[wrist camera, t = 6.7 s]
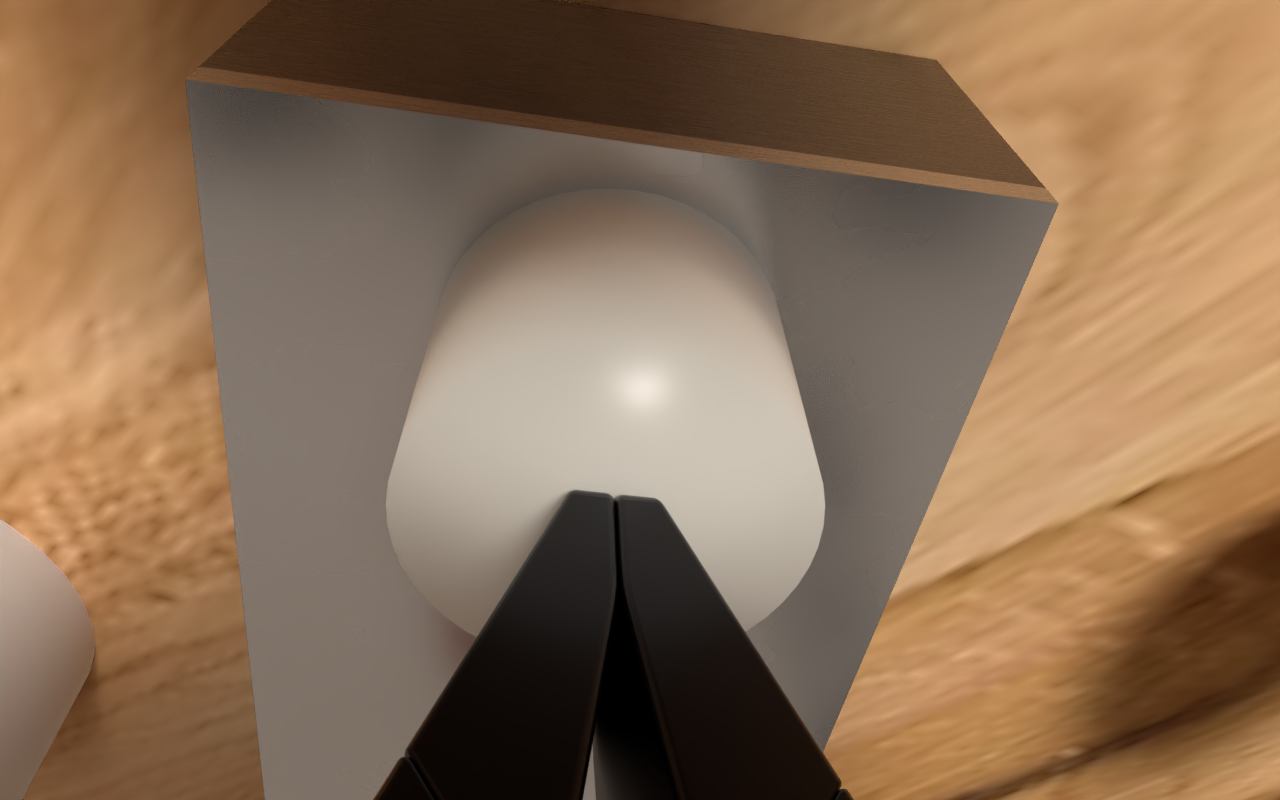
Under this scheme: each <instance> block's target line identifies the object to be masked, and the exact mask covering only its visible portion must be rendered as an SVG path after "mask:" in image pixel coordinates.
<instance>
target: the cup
mask: <svg viewBox="0 0 1280 800" xmlns="http://www.w3.org/2000/svg"><path fill="white" fill-rule="evenodd" d="M94 654H95V641H94V632H93V625H92V622H91V620H90V617H89V615H88V612H87V610H86V607H85V605H84V602H83V600H82V598H81V597H80V595H79V594H78V593H77V591H76V590H75V588H74V587H73V585H72V584H71V583H70V581H69V580H68V578H67V577H66V575H65V574H64V573H63V572H62V571H61V570H60V569H59V568H58V567H57V566H56V565H55V564H54V563H53V562H52V561H51V560H50V558H49V557H48V556H47V555H46V554H45V553H44V552H43V551H42V550H41V549H40V548H39V547H38V546H36V545H35V544H34V543H32V542H31V541H30V540H28V539H27V538H25V537H24V536H23V535H21V534H20V533H19V532H17V531H16V530H15V529H13V528H12V527H11V526H9V525H8V524H7V523H5V522H4V521H2V520H1V519H0V800H22V799H23V797H24V796H25V794H26V792H27V790H28V788H29V786H30V784H31V782H32V781H33V779H34V777H35V775H36V773H37V771H38V769H39V767H40V765H41V764H42V762H43V760H44V758H45V756H46V754H47V752H48V750H49V749H50V747H51V745H52V743H53V741H54V739H55V737H56V735H57V733H58V732H59V730H60V728H61V726H62V724H63V722H64V720H65V718H66V717H67V715H68V713H69V711H70V709H71V707H72V705H73V703H74V701H75V700H76V698H77V696H78V694H79V692H80V690H81V688H82V686H83V685H84V683H85V681H86V679H87V677H88V675H89V673H90V671H91V667H92V662H93V658H94Z"/></svg>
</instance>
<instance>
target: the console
mask: <svg viewBox="0 0 1280 800" xmlns="http://www.w3.org/2000/svg"><path fill="white" fill-rule="evenodd" d="M185 82H186V91H187V100H188V109H189V118H190V127H191V137H192V146H193V155H194V164H195V173H196V182H197V191H198V200H199V209H200V218H201V227H202V236H203V245H204V254H205V263H206V272H207V281H208V290H209V299H210V308H211V317H212V326H213V336H214V345H215V354H216V363H217V372H218V381H219V390H220V399H221V408H222V417H223V426H224V435H225V444H226V453H227V462H228V471H229V480H230V489H231V498H232V507H233V516H234V525H235V535H236V544H237V553H238V562H239V571H240V580H241V589H242V598H243V607H244V616H245V625H246V634H247V643H248V652H249V661H250V670H251V679H252V688H253V697H254V706H255V715H256V724H257V734H258V743H259V752H260V761H261V770H262V779H263V788H264V797H265V800H373V799H374V797H375V796H376V794H377V793H378V791H379V790H380V788H381V786H382V785H383V783H384V782H385V780H386V779H387V777H388V775H389V774H390V772H391V771H392V769H393V767H394V766H395V764H396V763H397V761H398V760H399V759H400V758H401V757H404V755H405V750H406V748H407V746H408V745H409V743H410V742H411V740H412V738H413V737H414V735H415V734H416V732H417V730H418V729H419V727H420V726H421V724H422V723H423V721H424V719H425V718H426V716H427V715H428V713H429V711H430V710H431V708H432V707H433V705H434V704H435V702H436V700H437V699H438V697H439V696H440V694H441V693H442V691H443V689H444V688H445V686H446V685H447V683H448V681H449V680H450V678H451V677H452V675H453V674H454V672H455V670H456V669H457V667H458V666H459V664H460V662H461V661H462V659H463V658H464V656H465V655H466V653H467V651H468V650H469V648H470V647H471V645H472V643H473V642H474V640H475V639H476V637H475V636H473V635H472V634H470V633H468V632H466V631H464V630H463V629H462V628H460V627H459V626H457V625H456V624H455V623H453V622H452V621H450V620H449V619H447V618H446V617H445V616H444V615H443V614H441V613H440V612H439V611H438V610H437V609H436V608H435V607H434V606H433V605H431V604H430V603H429V602H428V601H427V600H426V598H425V597H424V596H423V595H422V594H421V593H420V592H419V590H418V589H417V588H416V587H415V586H414V585H413V583H412V581H411V580H410V578H409V577H408V575H407V574H406V572H405V570H404V569H403V567H402V566H401V563H400V561H399V559H398V557H397V554H396V552H395V550H394V548H393V545H392V541H391V537H390V533H389V529H388V525H387V513H386V497H387V487H388V480H389V477H390V473H391V470H392V466H393V463H394V459H395V456H396V452H397V449H398V445H399V442H400V438H401V435H402V431H403V428H404V424H405V421H406V418H407V414H408V411H409V407H410V404H411V400H412V397H413V393H414V390H415V386H416V383H417V379H418V376H419V372H420V369H421V365H422V362H423V358H424V355H425V351H426V348H427V345H428V341H429V338H430V334H431V331H432V327H433V324H434V320H435V317H436V313H437V310H438V306H439V303H440V299H441V296H442V292H443V289H444V287H445V285H446V283H447V281H448V278H449V276H450V274H451V272H452V270H453V269H454V267H455V266H456V264H457V263H458V261H459V260H460V258H461V257H462V255H463V254H464V253H465V251H466V250H467V249H468V248H469V247H470V246H471V245H472V244H473V243H474V241H475V240H476V239H477V238H478V237H479V236H480V235H482V234H483V233H484V232H485V231H487V230H488V229H489V228H490V227H491V226H493V225H494V224H495V223H496V222H498V221H500V220H501V219H503V218H504V217H506V216H508V215H509V214H511V213H512V212H514V211H516V210H518V209H520V208H522V207H525V206H527V205H529V204H531V203H533V202H536V201H538V200H541V199H545V198H548V197H551V196H555V195H558V194H562V193H567V192H573V191H579V190H585V189H606V188H613V189H626V190H636V191H641V192H646V193H651V194H656V195H661V196H663V197H666V198H669V199H672V200H675V201H678V202H681V203H684V204H686V205H688V206H690V207H692V208H694V209H696V210H698V211H700V212H702V213H704V214H706V215H707V216H709V217H710V218H712V219H713V220H715V221H716V222H718V223H720V224H721V225H723V226H724V227H725V228H726V229H727V230H728V231H730V232H731V233H732V234H733V235H734V236H735V237H736V238H738V239H739V240H740V241H741V242H742V243H743V245H744V246H745V247H746V248H747V249H748V250H749V252H750V253H751V254H752V255H753V256H754V257H755V259H756V261H757V262H758V264H759V265H760V267H761V268H762V270H763V271H764V273H765V275H766V277H767V279H768V281H769V284H770V286H771V288H772V290H773V293H774V296H775V299H776V303H777V307H778V311H779V314H780V318H781V322H782V326H783V330H784V334H785V338H786V342H787V345H788V349H789V353H790V357H791V361H792V365H793V369H794V373H795V376H796V380H797V384H798V388H799V392H800V396H801V400H802V404H803V407H804V411H805V415H806V419H807V423H808V427H809V431H810V435H811V438H812V442H813V446H814V450H815V454H816V458H817V462H818V466H819V469H820V473H821V477H822V481H823V486H824V497H825V515H824V526H823V531H822V534H821V538H820V542H819V546H818V549H817V551H816V553H815V556H814V558H813V560H812V562H811V564H810V567H809V568H808V570H807V572H806V573H805V575H804V576H803V578H802V579H801V581H800V582H799V584H798V585H797V587H796V588H795V589H794V590H793V591H792V592H791V594H790V595H789V596H788V597H787V598H786V599H785V601H784V602H783V603H782V604H781V605H779V606H778V607H777V608H776V609H775V610H774V611H773V612H772V613H770V614H769V615H768V616H767V617H766V618H765V619H763V620H762V621H760V622H759V623H757V624H756V625H755V626H753V627H752V628H750V629H749V630H748V631H746V634H747V635H748V637H749V638H750V640H751V641H752V643H753V645H754V646H755V648H756V649H757V651H758V652H759V654H760V655H761V657H762V659H763V660H764V662H765V663H766V665H767V666H768V668H769V669H770V671H771V673H772V674H773V676H774V677H775V679H776V680H777V682H778V683H779V685H780V687H781V688H782V690H783V691H784V693H785V694H786V696H787V697H788V699H789V701H790V702H791V704H792V705H793V707H794V708H795V710H796V711H797V713H798V715H799V716H800V718H801V719H802V721H803V722H804V724H805V726H806V727H807V729H808V730H809V732H810V733H811V735H812V736H813V738H814V740H815V741H816V743H817V744H818V746H819V747H820V749H821V750H822V752H823V750H824V748H825V746H826V743H827V741H828V739H829V736H830V734H831V732H832V729H833V727H834V725H835V722H836V720H837V718H838V715H839V713H840V711H841V708H842V706H843V704H844V701H845V699H846V697H847V694H848V692H849V690H850V688H851V685H852V683H853V681H854V678H855V676H856V674H857V671H858V669H859V667H860V664H861V662H862V660H863V657H864V655H865V653H866V650H867V648H868V646H869V643H870V641H871V639H872V636H873V634H874V632H875V629H876V627H877V625H878V622H879V620H880V618H881V615H882V613H883V611H884V608H885V606H886V604H887V602H888V599H889V597H890V595H891V592H892V590H893V588H894V585H895V583H896V581H897V578H898V576H899V574H900V571H901V569H902V567H903V564H904V562H905V560H906V557H907V555H908V553H909V550H910V548H911V546H912V543H913V541H914V539H915V536H916V534H917V532H918V529H919V527H920V525H921V523H922V520H923V518H924V516H925V513H926V511H927V509H928V506H929V504H930V502H931V499H932V497H933V495H934V492H935V490H936V488H937V485H938V483H939V481H940V478H941V476H942V474H943V471H944V469H945V467H946V464H947V462H948V460H949V457H950V455H951V453H952V450H953V448H954V446H955V443H956V441H957V439H958V437H959V434H960V432H961V430H962V427H963V425H964V423H965V420H966V418H967V416H968V413H969V411H970V409H971V406H972V404H973V402H974V399H975V397H976V395H977V392H978V390H979V388H980V385H981V383H982V381H983V378H984V376H985V374H986V371H987V369H988V367H989V364H990V362H991V360H992V357H993V355H994V353H995V351H996V348H997V346H998V344H999V341H1000V339H1001V337H1002V334H1003V332H1004V330H1005V327H1006V325H1007V323H1008V320H1009V318H1010V316H1011V313H1012V311H1013V309H1014V306H1015V304H1016V302H1017V299H1018V297H1019V295H1020V292H1021V290H1022V288H1023V285H1024V283H1025V281H1026V278H1027V276H1028V274H1029V271H1030V269H1031V267H1032V265H1033V262H1034V260H1035V258H1036V255H1037V253H1038V251H1039V248H1040V246H1041V244H1042V241H1043V239H1044V237H1045V234H1046V232H1047V230H1048V227H1049V225H1050V223H1051V220H1052V218H1053V216H1054V213H1055V211H1056V209H1057V206H1058V204H1059V203H1058V202H1057V201H1056V200H1055V199H1054V197H1053V196H1052V195H1051V194H1050V193H1049V191H1048V190H1047V189H1046V188H1045V187H1044V186H1043V184H1042V183H1041V182H1040V181H1039V180H1038V179H1037V177H1036V176H1035V175H1034V174H1033V173H1032V172H1031V170H1030V169H1029V168H1028V167H1027V166H1026V164H1025V163H1024V162H1023V161H1022V160H1021V159H1020V157H1019V156H1018V155H1017V154H1016V153H1015V152H1014V150H1013V149H1012V148H1011V147H1010V146H1009V145H1008V143H1007V142H1006V141H1005V140H1004V139H1003V138H1002V136H1001V135H1000V134H999V133H998V132H997V130H996V129H995V128H994V127H993V126H992V125H991V123H990V122H989V121H988V120H987V119H986V118H985V116H984V115H983V114H982V113H981V112H980V111H979V109H978V108H977V107H976V106H975V105H974V103H973V102H972V101H971V100H970V99H969V98H968V96H967V95H966V94H965V93H964V92H963V91H962V89H961V88H960V87H959V86H958V85H957V84H956V82H955V81H954V80H953V79H952V78H951V76H950V75H949V74H948V73H947V72H946V71H945V69H944V68H943V67H942V66H941V65H940V64H939V62H938V61H937V60H932V59H926V58H919V57H913V56H907V55H900V54H894V53H887V52H881V51H875V50H868V49H862V48H855V47H849V46H843V45H836V44H830V43H823V42H817V41H811V40H804V39H798V38H791V37H785V36H778V35H772V34H766V33H759V32H753V31H746V30H740V29H734V28H727V27H721V26H714V25H708V24H702V23H695V22H689V21H682V20H676V19H670V18H663V17H657V16H650V15H644V14H637V13H631V12H625V11H618V10H612V9H605V8H599V7H593V6H586V5H580V4H573V3H567V2H561V1H554V0H272V1H270V2H269V3H268V4H267V5H266V6H265V7H264V8H263V9H262V10H261V11H260V12H258V13H257V14H256V15H255V16H254V17H253V18H252V19H251V20H250V21H249V22H247V23H246V24H245V25H244V26H243V27H242V28H241V29H240V30H239V31H238V32H236V33H235V34H234V35H233V36H232V37H231V38H230V39H229V40H228V41H227V42H225V43H224V44H223V45H222V46H221V47H220V48H219V49H218V50H217V51H216V52H215V53H213V54H212V55H211V56H210V57H209V58H208V59H207V60H206V61H205V62H204V63H202V64H201V65H200V66H199V67H198V68H197V69H196V70H195V71H194V72H193V73H191V74H190V75H189V76H188V77H187V78H186V79H185ZM583 800H596V793H595V778H594V763H593V744H592V750H591V755H590V761H589V767H588V772H587V778H586V784H585V789H584V795H583Z"/></svg>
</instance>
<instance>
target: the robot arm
mask: <svg viewBox="0 0 1280 800" xmlns="http://www.w3.org/2000/svg"><path fill="white" fill-rule="evenodd" d="M592 744H593V763H594V778H595V793H596V800H853V798H852V796H851V795H850V793H849V792H848V791H847V790H846V789H840V787H841V780H840V778H839V777H838V775H837V774H836V772H835V771H834V769H833V768H832V766H831V764H830V763H829V761H828V760H827V758H826V757H825V755H824V754H823V752H822V750H821V749H820V747H819V746H818V744H817V743H816V741H815V740H814V738H813V736H812V735H811V733H810V732H809V730H808V729H807V727H806V726H805V724H804V722H803V721H802V719H801V718H800V716H799V715H798V713H797V711H796V710H795V708H794V707H793V705H792V704H791V702H790V701H789V699H788V697H787V696H786V694H785V693H784V691H783V690H782V688H781V687H780V685H779V683H778V682H777V680H776V679H775V677H774V676H773V674H772V673H771V671H770V669H769V668H768V666H767V665H766V663H765V662H764V660H763V659H762V657H761V655H760V654H759V652H758V651H757V649H756V648H755V646H754V645H753V643H752V641H751V640H750V638H749V637H748V635H747V634H746V632H745V631H744V629H743V627H742V626H741V624H740V623H739V621H738V620H737V618H736V617H735V615H734V613H733V612H732V610H731V609H730V607H729V606H728V604H727V603H726V601H725V599H724V598H723V596H722V595H721V593H720V592H719V590H718V589H717V587H716V585H715V584H714V582H713V581H712V579H711V578H710V576H709V575H708V573H707V571H706V570H705V568H704V567H703V565H702V564H701V562H700V561H699V559H698V557H697V556H696V554H695V553H694V551H693V550H692V548H691V547H690V545H689V543H688V542H687V540H686V539H685V537H684V536H683V534H682V533H681V531H680V529H679V528H678V526H677V525H676V523H675V522H674V520H673V519H672V517H671V515H670V514H669V512H668V511H667V509H666V508H665V506H664V505H663V503H662V502H661V501H660V500H658V499H656V498H651V497H641V496H632V495H620V496H618V497H617V498H616V499H615V500H614V499H613V497H612V496H611V495H610V494H608V493H603V492H593V491H583V490H573V491H570V492H569V493H568V494H567V495H566V496H565V498H564V499H563V501H562V503H561V504H560V506H559V507H558V509H557V511H556V512H555V514H554V515H553V517H552V518H551V520H550V522H549V523H548V525H547V526H546V528H545V530H544V531H543V533H542V534H541V536H540V537H539V539H538V541H537V542H536V544H535V545H534V547H533V549H532V550H531V552H530V553H529V555H528V556H527V558H526V560H525V561H524V563H523V564H522V566H521V568H520V569H519V571H518V572H517V574H516V575H515V577H514V579H513V580H512V582H511V583H510V585H509V587H508V588H507V590H506V591H505V593H504V594H503V596H502V598H501V599H500V601H499V602H498V604H497V605H496V607H495V609H494V610H493V612H492V613H491V615H490V617H489V618H488V620H487V621H486V623H485V624H484V626H483V628H482V629H481V631H480V632H479V634H478V636H477V637H476V639H475V640H474V642H473V643H472V645H471V647H470V648H469V650H468V651H467V653H466V655H465V656H464V658H463V659H462V661H461V662H460V664H459V666H458V667H457V669H456V670H455V672H454V674H453V675H452V677H451V678H450V680H449V681H448V683H447V685H446V686H445V688H444V689H443V691H442V693H441V694H440V696H439V697H438V699H437V700H436V702H435V704H434V705H433V707H432V708H431V710H430V711H429V713H428V715H427V716H426V718H425V719H424V721H423V723H422V724H421V726H420V727H419V729H418V730H417V732H416V734H415V735H414V737H413V738H412V740H411V742H410V743H409V745H408V746H407V748H406V750H405V755H404V757H401V758H400V759H399V760H398V761H397V763H396V764H395V766H394V767H393V769H392V771H391V772H390V774H389V775H388V777H387V779H386V780H385V782H384V783H383V785H382V786H381V788H380V790H379V791H378V793H377V794H376V796H375V797H374V799H373V800H583V795H584V789H585V784H586V778H587V772H588V767H589V761H590V755H591V750H592Z"/></svg>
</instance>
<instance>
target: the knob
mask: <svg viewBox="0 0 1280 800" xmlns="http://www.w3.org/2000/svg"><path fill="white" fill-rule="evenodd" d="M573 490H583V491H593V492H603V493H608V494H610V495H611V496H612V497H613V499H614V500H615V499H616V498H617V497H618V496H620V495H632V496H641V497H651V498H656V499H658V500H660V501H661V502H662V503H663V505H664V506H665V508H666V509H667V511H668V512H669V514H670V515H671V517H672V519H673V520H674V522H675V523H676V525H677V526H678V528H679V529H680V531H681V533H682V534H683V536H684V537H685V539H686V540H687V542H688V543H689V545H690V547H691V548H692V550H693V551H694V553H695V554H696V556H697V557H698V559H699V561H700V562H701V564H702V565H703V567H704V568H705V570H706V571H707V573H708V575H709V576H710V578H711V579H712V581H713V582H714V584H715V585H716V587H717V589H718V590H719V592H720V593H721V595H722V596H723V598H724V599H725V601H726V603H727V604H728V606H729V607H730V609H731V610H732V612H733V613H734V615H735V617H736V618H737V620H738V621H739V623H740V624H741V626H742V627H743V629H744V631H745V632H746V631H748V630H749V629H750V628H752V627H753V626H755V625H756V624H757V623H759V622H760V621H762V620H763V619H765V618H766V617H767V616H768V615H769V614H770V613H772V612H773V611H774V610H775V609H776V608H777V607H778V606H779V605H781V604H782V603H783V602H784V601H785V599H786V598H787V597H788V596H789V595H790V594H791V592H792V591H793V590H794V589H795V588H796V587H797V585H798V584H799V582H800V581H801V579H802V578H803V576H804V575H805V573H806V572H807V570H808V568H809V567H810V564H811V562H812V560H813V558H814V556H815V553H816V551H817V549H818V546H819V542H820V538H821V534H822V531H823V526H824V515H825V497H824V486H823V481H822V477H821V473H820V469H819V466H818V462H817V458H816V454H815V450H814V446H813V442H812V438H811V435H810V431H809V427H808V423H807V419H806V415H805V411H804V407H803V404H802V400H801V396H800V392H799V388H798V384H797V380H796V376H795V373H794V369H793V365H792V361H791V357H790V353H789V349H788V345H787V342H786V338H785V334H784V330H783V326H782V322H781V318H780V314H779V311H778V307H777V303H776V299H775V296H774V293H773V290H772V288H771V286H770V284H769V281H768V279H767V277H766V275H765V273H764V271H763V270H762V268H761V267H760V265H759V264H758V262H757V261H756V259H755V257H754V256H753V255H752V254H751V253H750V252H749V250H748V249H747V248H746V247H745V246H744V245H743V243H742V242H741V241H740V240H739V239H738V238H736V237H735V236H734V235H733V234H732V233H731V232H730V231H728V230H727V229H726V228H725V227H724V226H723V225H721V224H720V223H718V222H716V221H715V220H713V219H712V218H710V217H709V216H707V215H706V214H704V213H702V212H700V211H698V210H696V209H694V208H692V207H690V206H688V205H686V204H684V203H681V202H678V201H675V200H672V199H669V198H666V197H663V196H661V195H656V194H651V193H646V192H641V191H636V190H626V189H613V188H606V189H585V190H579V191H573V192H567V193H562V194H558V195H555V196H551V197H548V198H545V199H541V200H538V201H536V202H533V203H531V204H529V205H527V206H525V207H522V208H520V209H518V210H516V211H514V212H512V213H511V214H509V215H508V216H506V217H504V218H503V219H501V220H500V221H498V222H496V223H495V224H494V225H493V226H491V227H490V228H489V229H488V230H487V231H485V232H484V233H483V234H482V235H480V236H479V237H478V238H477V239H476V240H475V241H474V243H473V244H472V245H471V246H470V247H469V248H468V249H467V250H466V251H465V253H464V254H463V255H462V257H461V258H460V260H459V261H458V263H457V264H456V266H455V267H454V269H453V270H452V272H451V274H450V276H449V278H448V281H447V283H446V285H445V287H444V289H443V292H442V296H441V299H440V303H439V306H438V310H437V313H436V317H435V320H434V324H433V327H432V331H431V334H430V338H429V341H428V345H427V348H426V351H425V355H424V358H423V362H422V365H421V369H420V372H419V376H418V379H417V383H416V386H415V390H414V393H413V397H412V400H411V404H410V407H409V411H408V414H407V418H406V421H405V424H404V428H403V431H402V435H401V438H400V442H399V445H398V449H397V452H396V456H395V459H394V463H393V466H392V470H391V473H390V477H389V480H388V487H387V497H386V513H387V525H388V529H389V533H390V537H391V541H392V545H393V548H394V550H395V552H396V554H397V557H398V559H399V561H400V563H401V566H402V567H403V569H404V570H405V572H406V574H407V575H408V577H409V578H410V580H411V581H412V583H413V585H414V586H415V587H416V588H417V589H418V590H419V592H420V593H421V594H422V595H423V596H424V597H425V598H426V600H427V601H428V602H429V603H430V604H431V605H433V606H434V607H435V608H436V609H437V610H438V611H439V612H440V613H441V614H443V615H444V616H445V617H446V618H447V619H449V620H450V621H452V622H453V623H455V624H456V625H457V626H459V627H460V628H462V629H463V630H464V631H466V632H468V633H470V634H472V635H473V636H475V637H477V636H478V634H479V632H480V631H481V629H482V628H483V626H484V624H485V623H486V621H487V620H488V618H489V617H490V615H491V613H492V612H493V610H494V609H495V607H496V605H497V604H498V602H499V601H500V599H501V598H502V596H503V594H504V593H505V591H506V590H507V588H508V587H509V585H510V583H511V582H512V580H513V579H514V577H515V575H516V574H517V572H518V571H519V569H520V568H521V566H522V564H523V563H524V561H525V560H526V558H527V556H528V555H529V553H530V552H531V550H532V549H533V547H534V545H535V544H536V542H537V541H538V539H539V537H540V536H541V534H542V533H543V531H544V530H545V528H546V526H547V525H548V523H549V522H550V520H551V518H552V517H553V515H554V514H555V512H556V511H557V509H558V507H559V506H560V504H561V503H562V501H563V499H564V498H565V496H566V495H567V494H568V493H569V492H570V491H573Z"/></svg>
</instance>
